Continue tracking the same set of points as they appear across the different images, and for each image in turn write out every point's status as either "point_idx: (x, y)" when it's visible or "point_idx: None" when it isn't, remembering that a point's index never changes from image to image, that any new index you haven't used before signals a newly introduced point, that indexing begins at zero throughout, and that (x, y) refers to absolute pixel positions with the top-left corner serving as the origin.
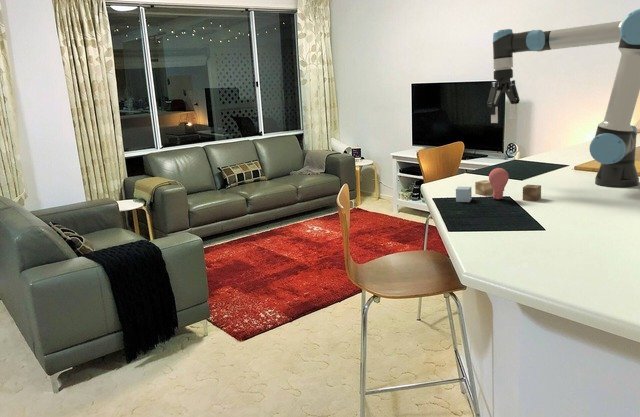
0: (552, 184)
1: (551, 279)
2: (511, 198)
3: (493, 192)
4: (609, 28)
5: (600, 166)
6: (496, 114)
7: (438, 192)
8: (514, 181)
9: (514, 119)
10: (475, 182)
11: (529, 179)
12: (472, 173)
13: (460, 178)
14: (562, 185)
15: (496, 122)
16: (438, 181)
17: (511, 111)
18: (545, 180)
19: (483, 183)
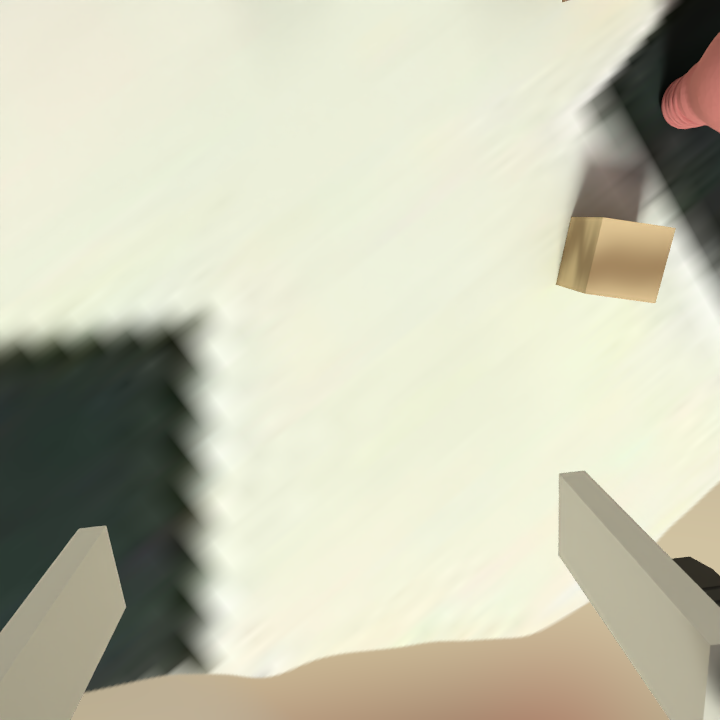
0: (184, 99)
1: None
2: (628, 57)
3: (575, 217)
4: None
5: None
6: (653, 541)
7: (679, 456)
8: (241, 336)
9: (108, 538)
10: (653, 300)
11: (141, 304)
12: (191, 657)
13: (339, 612)
14: (174, 28)
15: (586, 478)
16: (462, 639)
17: (66, 676)
18: (108, 208)
19: (673, 232)
